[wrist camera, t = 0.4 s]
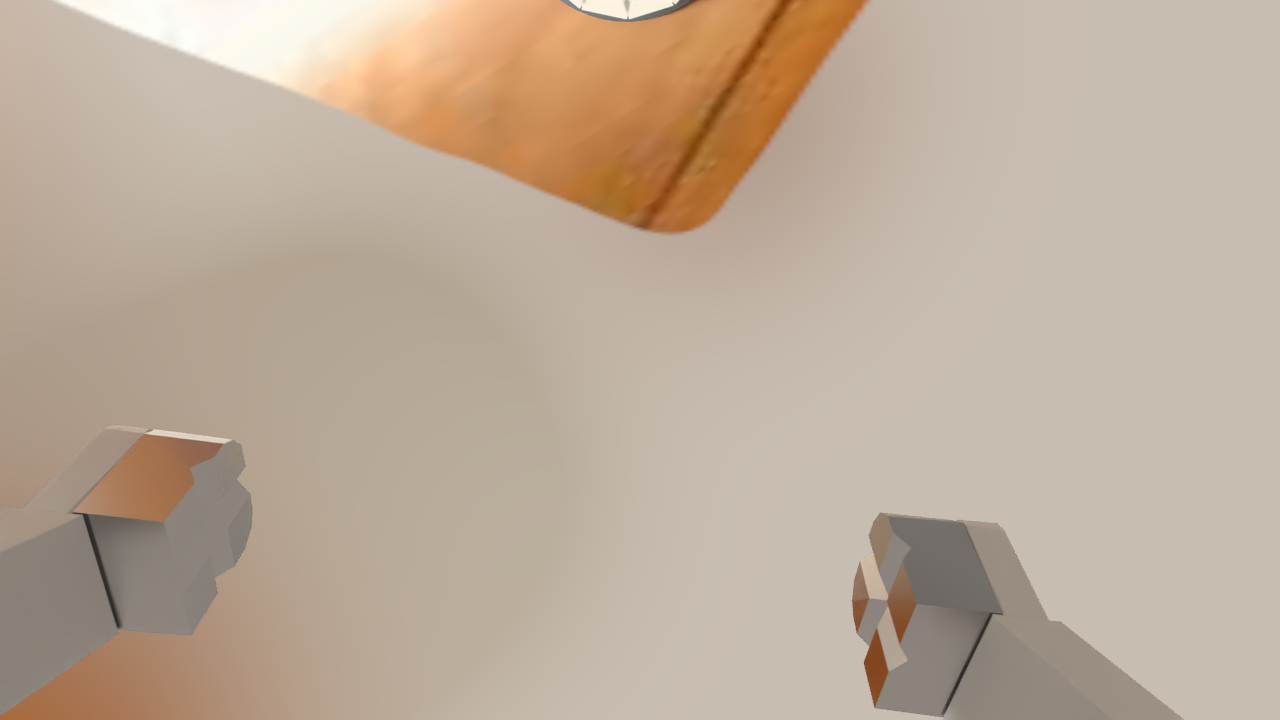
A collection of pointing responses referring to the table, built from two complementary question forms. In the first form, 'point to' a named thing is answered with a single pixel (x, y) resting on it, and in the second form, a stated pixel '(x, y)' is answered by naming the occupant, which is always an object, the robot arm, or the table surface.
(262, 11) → the table surface
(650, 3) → the ring dish
